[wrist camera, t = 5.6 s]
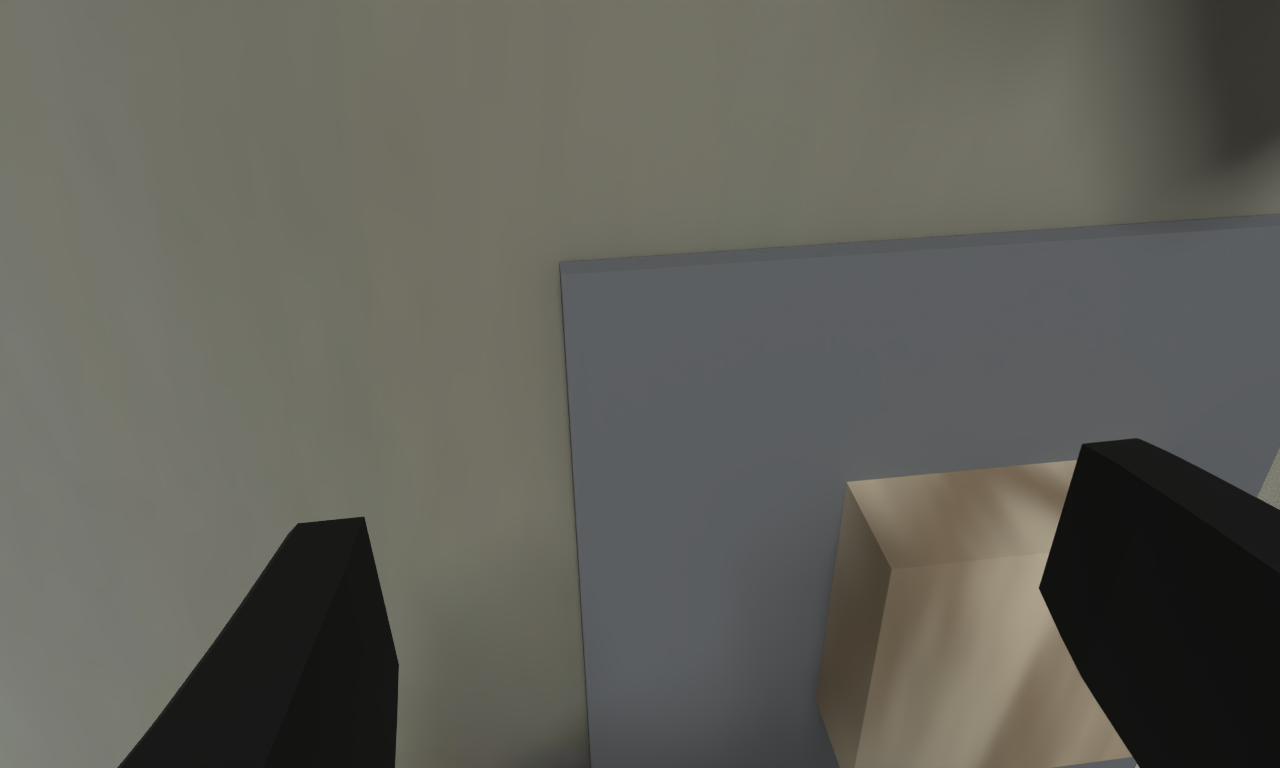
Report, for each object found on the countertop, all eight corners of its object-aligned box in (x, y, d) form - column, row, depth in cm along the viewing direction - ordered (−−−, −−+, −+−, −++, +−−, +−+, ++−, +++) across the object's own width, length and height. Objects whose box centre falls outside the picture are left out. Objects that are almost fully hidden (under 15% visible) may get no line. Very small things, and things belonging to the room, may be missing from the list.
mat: (1360, 208, 21) (1382, 218, 20) (1120, 761, 32) (1130, 777, 31) (558, 262, 19) (561, 274, 18) (595, 832, 30) (596, 849, 29)
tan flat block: (846, 481, 22) (1155, 452, 23) (815, 700, 27) (1077, 668, 27) (891, 569, 20) (1236, 532, 21) (849, 794, 24) (1136, 756, 25)
